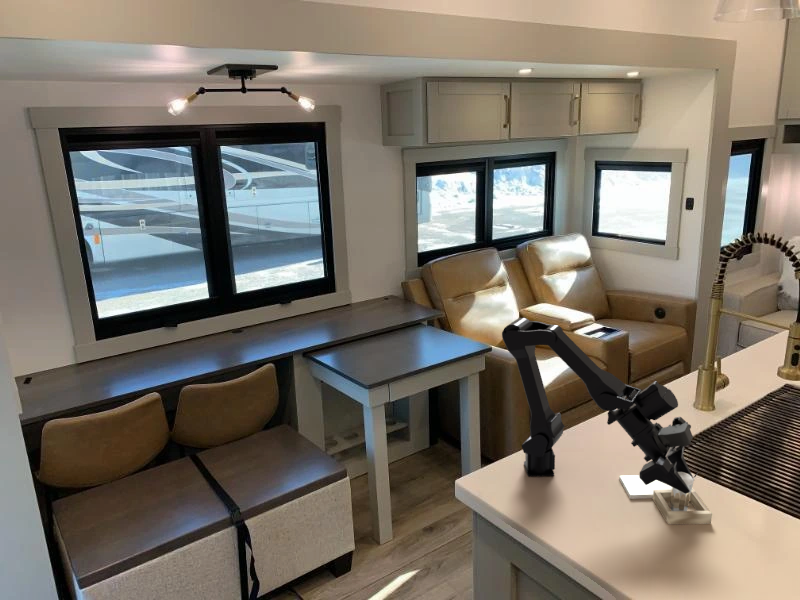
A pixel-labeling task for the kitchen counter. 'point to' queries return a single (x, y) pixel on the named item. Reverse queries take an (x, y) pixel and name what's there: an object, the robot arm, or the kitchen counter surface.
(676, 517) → the holder
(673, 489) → the milkshake
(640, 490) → the pad
